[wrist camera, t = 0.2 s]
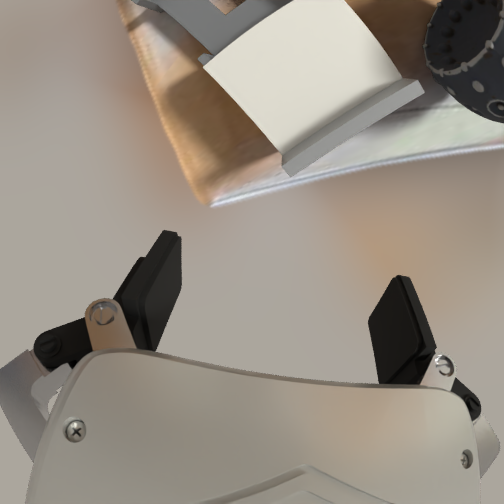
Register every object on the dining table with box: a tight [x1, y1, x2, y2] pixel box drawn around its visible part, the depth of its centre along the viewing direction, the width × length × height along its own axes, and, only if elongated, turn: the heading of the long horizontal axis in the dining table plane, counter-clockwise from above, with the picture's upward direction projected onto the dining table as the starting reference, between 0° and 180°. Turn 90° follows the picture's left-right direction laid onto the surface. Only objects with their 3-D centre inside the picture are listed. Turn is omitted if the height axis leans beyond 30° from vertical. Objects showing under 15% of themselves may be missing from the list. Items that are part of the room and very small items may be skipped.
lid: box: [203, 0, 425, 177], centre depth 23 cm, size 17×15×5 cm
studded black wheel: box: [422, 0, 504, 123], centre depth 16 cm, size 11×20×20 cm, turn 162°
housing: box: [131, 0, 293, 66], centre depth 25 cm, size 17×30×8 cm, turn 40°
